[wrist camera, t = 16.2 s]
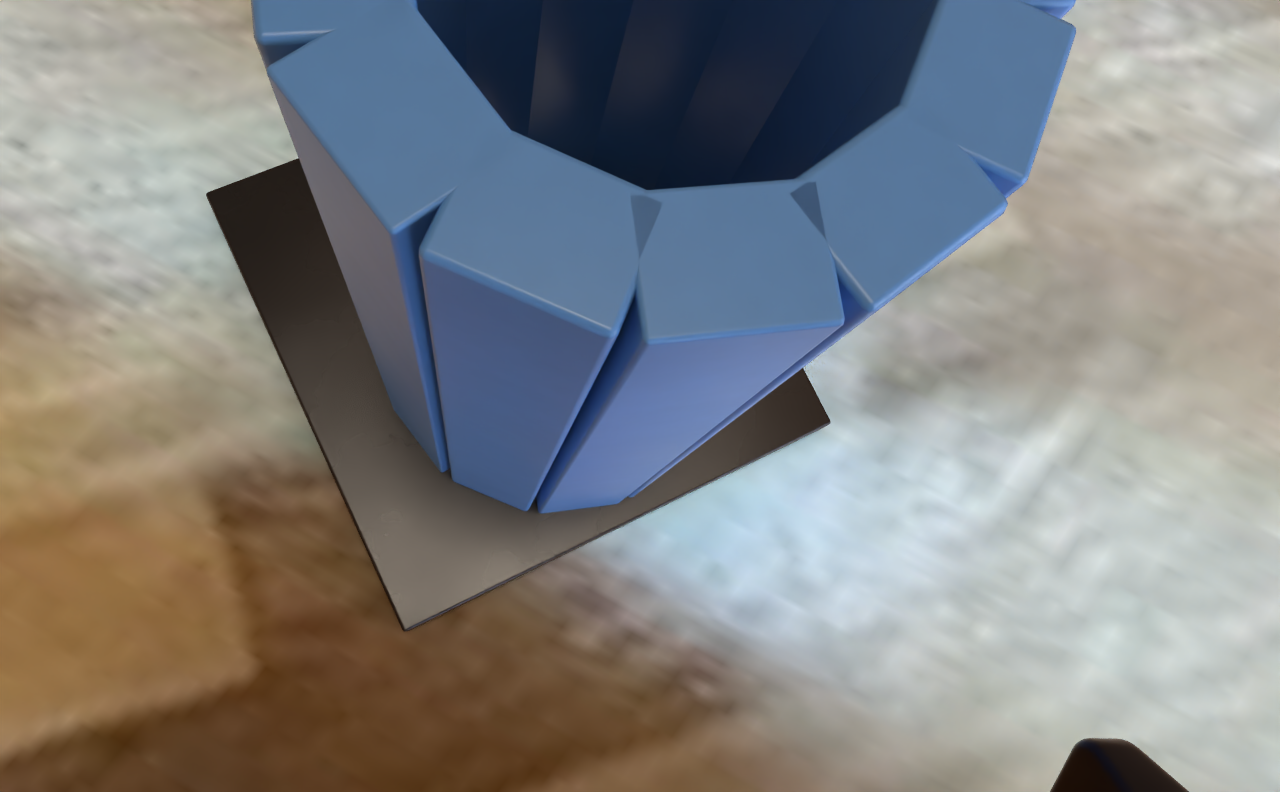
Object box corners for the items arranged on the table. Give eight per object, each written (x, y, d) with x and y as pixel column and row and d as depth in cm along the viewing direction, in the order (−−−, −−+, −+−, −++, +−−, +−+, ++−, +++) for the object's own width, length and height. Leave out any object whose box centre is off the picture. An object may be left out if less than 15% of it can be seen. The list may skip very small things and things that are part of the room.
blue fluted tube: (650, 563, 22) (933, 477, 9) (324, 427, 22) (74, 106, 8) (768, 262, 24) (1158, -208, 10) (469, 130, 23) (465, -543, 10)
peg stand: (406, 631, 22) (387, 636, 17) (213, 206, 23) (144, 97, 18) (820, 428, 24) (908, 381, 19) (626, 50, 25) (661, -85, 20)
